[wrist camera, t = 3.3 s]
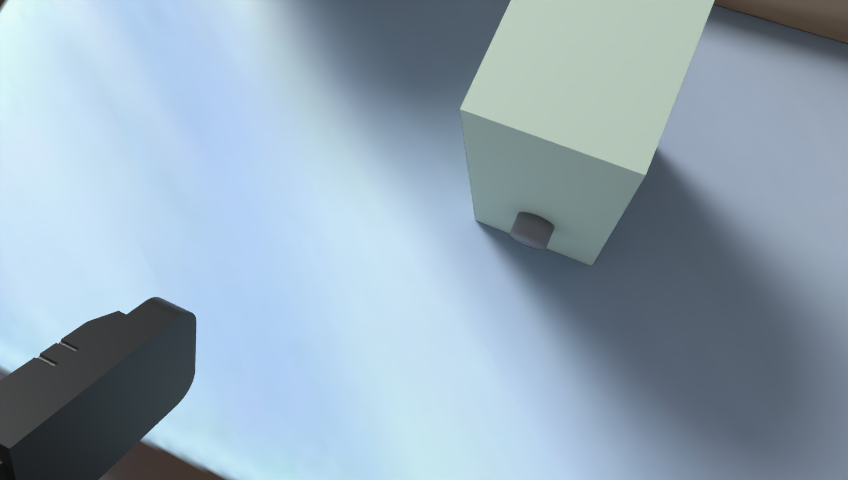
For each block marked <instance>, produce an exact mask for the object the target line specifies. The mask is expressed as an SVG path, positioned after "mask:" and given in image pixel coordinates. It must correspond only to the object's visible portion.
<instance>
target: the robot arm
mask: <svg viewBox="0 0 848 480" xmlns="http://www.w3.org/2000/svg"><path fill="white" fill-rule="evenodd" d="M195 355H196V318H195V315H194V314H193V313H191V312H189V311H187V310H185V309H183V308H181V307H179V306H177V305H174V304H172V303H170V302H168V301H166V300H164V299H162V298H159V297H153V298H150V299H148V300H147V301H145V302H144V303H142V304H141V305H139V306H138V307H137V308H135V309H134V310H132V311H131V312H130V313H128V314H127V315H126V314H124V313H122V312H120V311H117V312H114V313H111V314H108V315H105V316H102V317H99V318H96V319H94V320H91V321H88V322H86V323H84V324H83V325H82V326H80V327H79V328H77V329H76V330H74V331H73V332H71V333H70V334H68V335H67V336H65V337H64V338H62V339H61V342H60V343H59V344H57V343H55V344H54V345H52V346H51V347H49V348H48V349H46V350H45V351H43V352H42V353H40V356H39V357H38V358H35V357H34V358H33V359H32V360H30V361H29V362H27V363H26V364H24V365H23V366H21V367H20V368H18V369H17V370H15V371H14V372H12V373H11V374H9V375H8V376H7V377H5V378H4V379H2V380H1V381H0V480H98V479H99V478H100V477H102V476H103V475H104V474H105V473H106V472H107V471H108V470H109V469H110V468H111V467H112V466H113V465H114V464H115V463H116V462H117V461H118V460H120V459H121V458H122V457H123V456H124V455H125V454H126V453H127V452H128V451H129V450H130V449H131V448H132V447H133V446H134V445H135V444H136V443H137V442H139V441H140V440H141V439H142V438H143V437H144V436H145V435H146V434H147V433H148V432H149V431H150V430H151V429H152V428H153V427H154V426H155V425H156V424H158V423H159V422H160V421H161V420H162V419H163V418H164V417H165V416H166V415H167V414H168V413H169V412H170V411H171V410H172V409H173V408H174V407H175V406H176V405H178V403H179V402H180V401H181V400H182V399H183V398H184V396H185V395H186V393H187V392H188V390H189V388H190V386H191V384H192V382H193V379H194V375H195Z"/></svg>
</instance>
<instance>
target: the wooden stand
mask: <svg viewBox="0 0 848 480" xmlns="http://www.w3.org/2000/svg"><path fill="white" fill-rule="evenodd" d="M713 4H715V5H718V6H722V7H725V8H728V9H732V10H735V11H739V12H742V13H746V14H749V15H752V16H756V17H759V18H763V19H766V20H769V21H773V22H776V23H780V24H783V25H787V26H790V27H793V28H797V29H800V30H804V31H807V32H810V33H814V34H817V35H821V36H824V37H828V38H831V39H834V40H838V41H841V42H845V43H848V0H715V1H714V3H713Z"/></svg>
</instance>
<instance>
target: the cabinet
mask: <svg viewBox="0 0 848 480" xmlns="http://www.w3.org/2000/svg"><path fill="white" fill-rule="evenodd" d="M714 1H715V0H511V1H510V3H509V5H508V7H507V9H506V12H505V14H504V16H503V18H502V20H501V22H500V24H499V27H498V29H497V31H496V33H495V35H494V37H493V39H492V41H491V44H490V46H489V48H488V50H487V52H486V54H485V56H484V59H483V61H482V63H481V65H480V67H479V69H478V71H477V73H476V76H475V78H474V80H473V82H472V84H471V86H470V88H469V91H468V93H467V95H466V97H465V99H464V101H463V103H462V105H461V108H460V114H461V121H462V128H463V136H464V143H465V150H466V157H467V164H468V172H469V179H470V186H471V193H472V201H473V208H474V215H475V220H476V221H479V222H481V223H484V224H486V225H489V226H491V227H494V228H496V229H499V230H501V231H504V232H506V233H509V235H510V236H511V237H512V238H513V239H514V240H516V241H518V242H519V243H521V244H524V245H526V246H528V247H531V248H535V249H540V250H544V249H546V248H547V249H550V250H552V251H555V252H557V253H560V254H562V255H565V256H567V257H570V258H572V259H575V260H577V261H580V262H583V263H585V264H588V265H590V266H592V265H593V263H594V262H595V260H596V258H597V256H598V255H599V253H600V251H601V250H602V248H603V246H604V245H605V243H606V241H607V240H608V238H609V236H610V235H611V233H612V231H613V230H614V228H615V226H616V224H617V223H618V221H619V219H620V218H621V216H622V214H623V213H624V211H625V209H626V208H627V206H628V204H629V203H630V201H631V199H632V198H633V196H634V194H635V193H636V191H637V189H638V187H639V186H640V184H641V182H642V181H643V179H644V177H645V176H646V173H647V171H648V168H649V166H650V163H651V161H652V158H653V156H654V153H655V150H656V148H657V145H658V143H659V140H660V138H661V135H662V133H663V130H664V128H665V125H666V123H667V120H668V117H669V115H670V112H671V110H672V107H673V105H674V102H675V100H676V97H677V95H678V92H679V90H680V87H681V84H682V82H683V79H684V77H685V74H686V72H687V69H688V67H689V64H690V62H691V59H692V56H693V54H694V51H695V49H696V46H697V44H698V41H699V39H700V36H701V34H702V31H703V29H704V26H705V23H706V21H707V18H708V16H709V13H710V11H711V8H712V6H713V3H714Z"/></svg>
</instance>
